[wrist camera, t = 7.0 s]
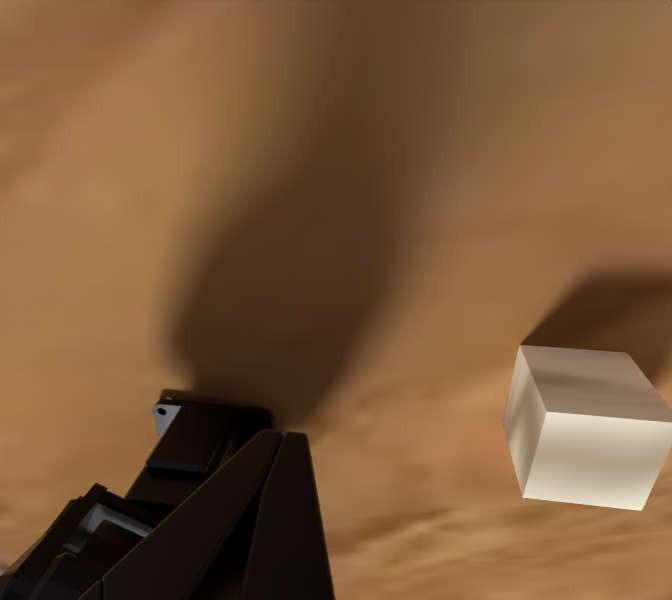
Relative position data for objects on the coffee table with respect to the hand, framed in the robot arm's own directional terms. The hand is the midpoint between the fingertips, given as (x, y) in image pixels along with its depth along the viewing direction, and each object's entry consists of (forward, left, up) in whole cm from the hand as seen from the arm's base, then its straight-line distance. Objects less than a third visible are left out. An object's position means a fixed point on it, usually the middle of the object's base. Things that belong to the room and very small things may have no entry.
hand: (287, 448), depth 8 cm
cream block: (-7, -10, -12) cm, 17 cm away
